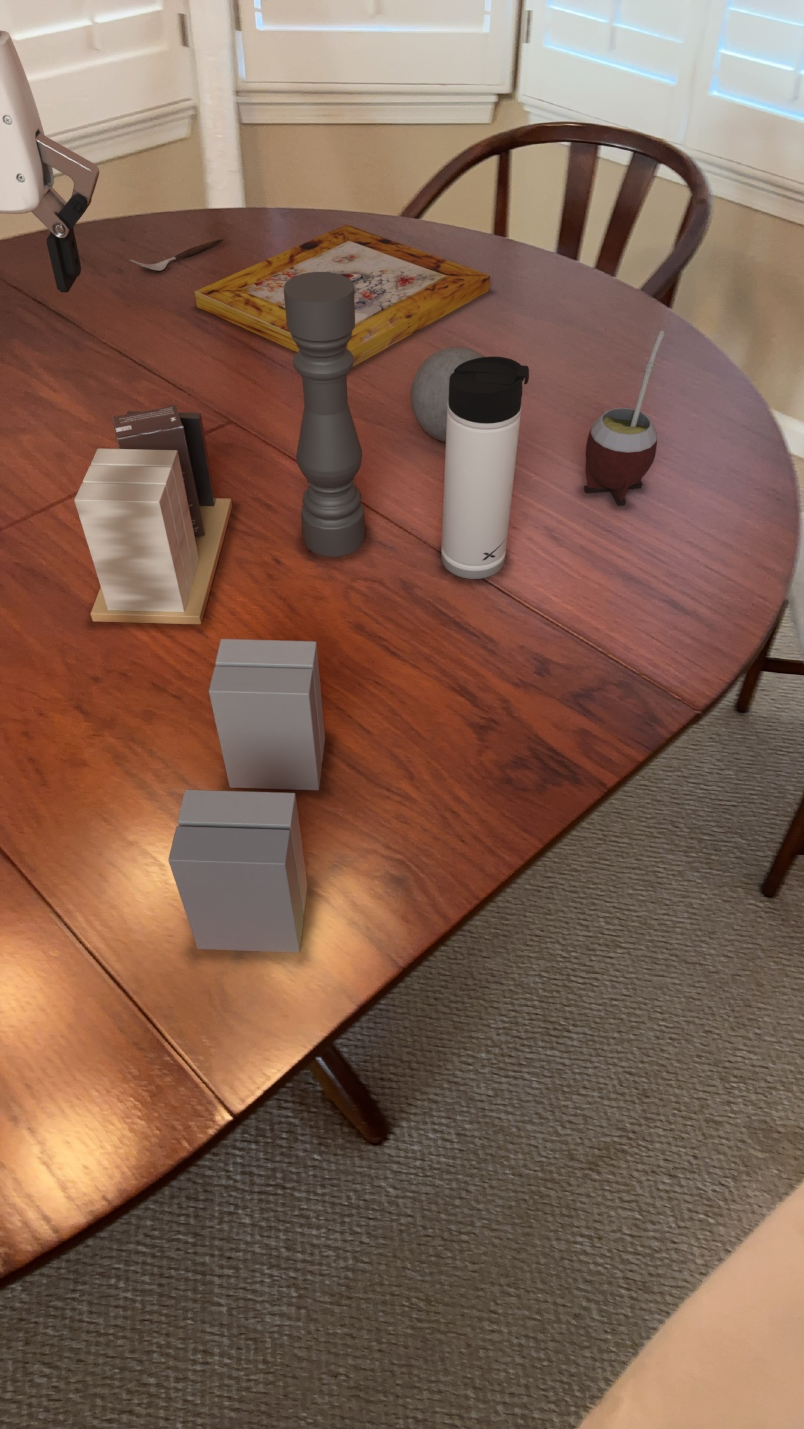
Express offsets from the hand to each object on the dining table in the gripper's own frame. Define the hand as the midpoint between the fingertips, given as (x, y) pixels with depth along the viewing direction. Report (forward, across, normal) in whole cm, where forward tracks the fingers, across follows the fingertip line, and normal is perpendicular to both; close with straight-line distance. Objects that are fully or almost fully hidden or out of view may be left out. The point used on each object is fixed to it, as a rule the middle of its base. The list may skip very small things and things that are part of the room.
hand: (5, 281), depth 72 cm
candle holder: (+26, +25, +4) cm, 36 cm away
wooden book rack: (+26, +9, -1) cm, 28 cm away
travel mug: (+25, +39, +1) cm, 46 cm away
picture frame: (+26, +22, +57) cm, 66 cm away
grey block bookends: (+26, +22, -32) cm, 47 cm away
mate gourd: (+25, +54, +13) cm, 61 cm away
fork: (+27, -3, +69) cm, 74 cm away
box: (+26, +9, +3) cm, 27 cm away
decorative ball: (+25, +37, +23) cm, 50 cm away
